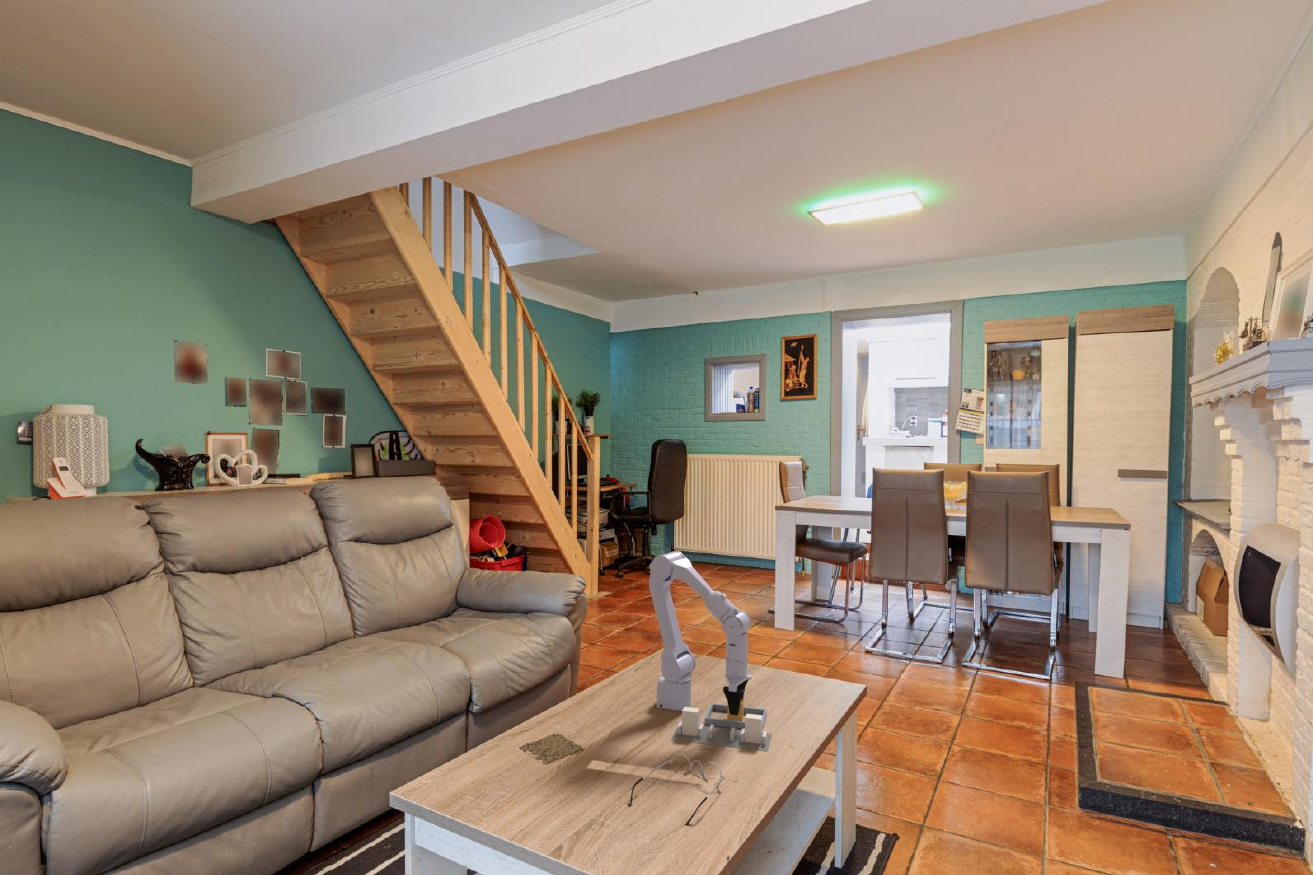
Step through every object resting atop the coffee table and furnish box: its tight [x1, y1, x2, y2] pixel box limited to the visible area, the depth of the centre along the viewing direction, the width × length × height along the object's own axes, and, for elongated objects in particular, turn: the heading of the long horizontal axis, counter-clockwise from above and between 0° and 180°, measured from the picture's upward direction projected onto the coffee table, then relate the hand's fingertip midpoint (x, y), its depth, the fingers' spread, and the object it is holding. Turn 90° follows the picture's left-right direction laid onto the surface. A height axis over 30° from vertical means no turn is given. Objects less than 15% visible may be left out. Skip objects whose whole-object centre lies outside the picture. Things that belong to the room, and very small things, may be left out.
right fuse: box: [744, 714, 763, 744], centre depth 172 cm, size 4×3×6 cm, turn 76°
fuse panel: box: [670, 720, 773, 753], centre depth 174 cm, size 24×10×4 cm, turn 75°
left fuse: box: [681, 706, 701, 736], centre depth 176 cm, size 4×3×6 cm, turn 76°
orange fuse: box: [726, 698, 745, 722], centre depth 185 cm, size 4×3×6 cm, turn 76°
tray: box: [704, 703, 767, 732], centre depth 185 cm, size 15×10×3 cm
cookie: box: [518, 733, 585, 766], centre depth 170 cm, size 12×12×1 cm
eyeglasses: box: [629, 753, 726, 826], centre depth 149 cm, size 16×19×5 cm
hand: (736, 708), depth 185 cm, fingers open, 7 cm apart
